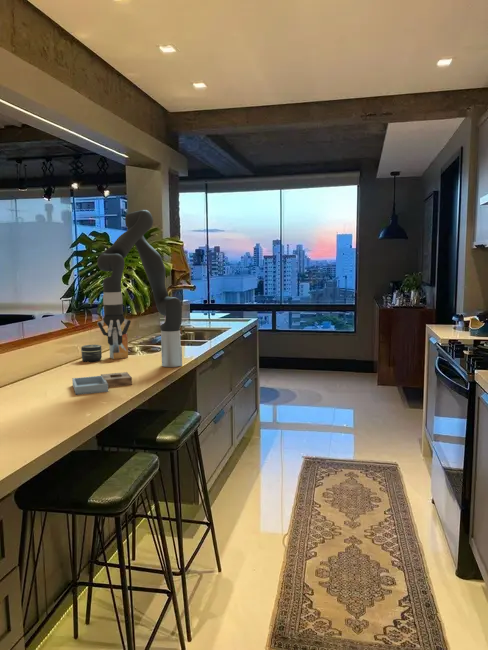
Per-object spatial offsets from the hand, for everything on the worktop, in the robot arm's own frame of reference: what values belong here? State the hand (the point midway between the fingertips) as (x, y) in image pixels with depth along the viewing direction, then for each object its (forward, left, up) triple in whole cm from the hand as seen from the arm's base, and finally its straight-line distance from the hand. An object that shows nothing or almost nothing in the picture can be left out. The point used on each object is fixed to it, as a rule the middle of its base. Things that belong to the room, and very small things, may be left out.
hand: (115, 344), depth 206 cm
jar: (+4, -55, -16) cm, 58 cm away
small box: (-10, -57, -16) cm, 60 cm away
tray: (+11, +5, -16) cm, 20 cm away
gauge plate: (0, 0, -16) cm, 16 cm away
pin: (0, 0, -3) cm, 3 cm away
